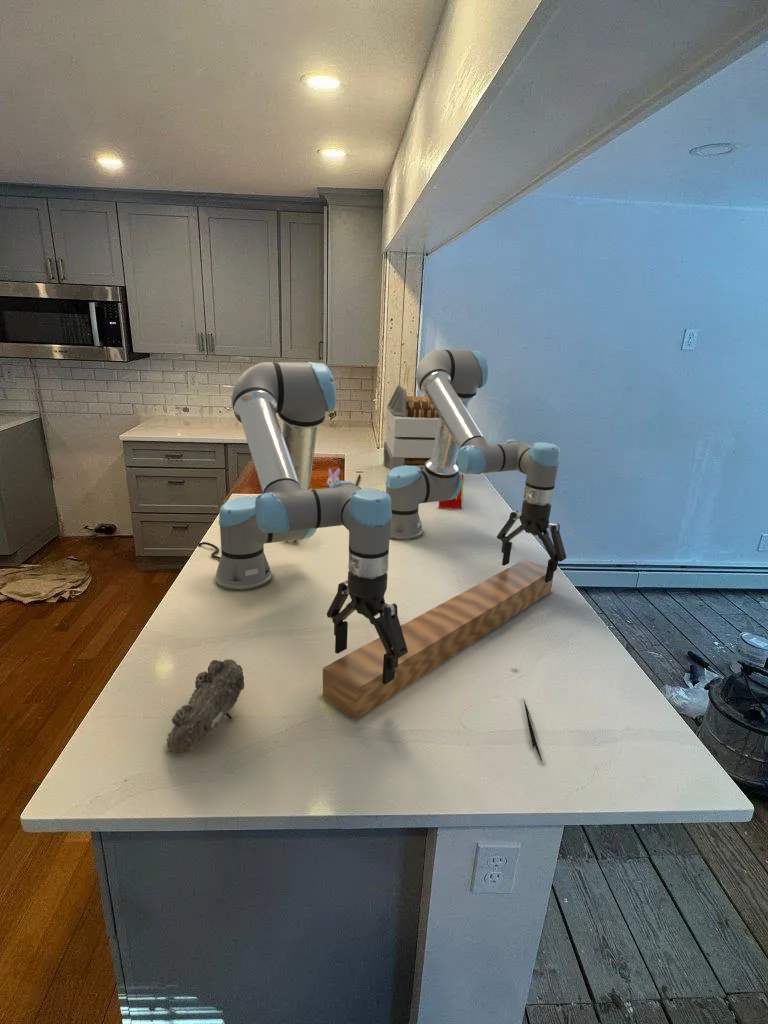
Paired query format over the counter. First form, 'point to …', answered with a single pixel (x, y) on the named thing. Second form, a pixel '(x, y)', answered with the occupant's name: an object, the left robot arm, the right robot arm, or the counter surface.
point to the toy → (453, 500)
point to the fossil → (206, 705)
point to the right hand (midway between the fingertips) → (526, 572)
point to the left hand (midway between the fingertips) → (363, 665)
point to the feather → (532, 731)
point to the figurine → (333, 477)
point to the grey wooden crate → (409, 430)
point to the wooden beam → (433, 638)
